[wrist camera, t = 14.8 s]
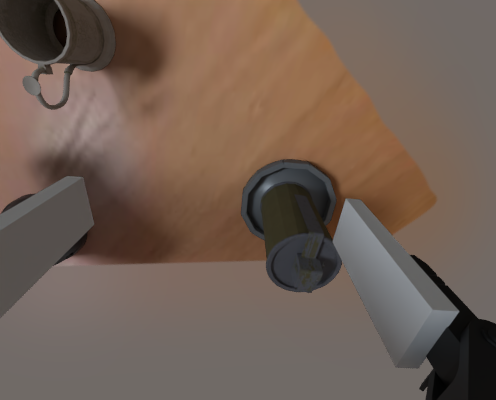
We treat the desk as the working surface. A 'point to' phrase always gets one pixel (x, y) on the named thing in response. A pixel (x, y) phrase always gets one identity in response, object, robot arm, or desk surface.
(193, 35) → the desk surface
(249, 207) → the round tray
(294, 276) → the canister
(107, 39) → the mug
